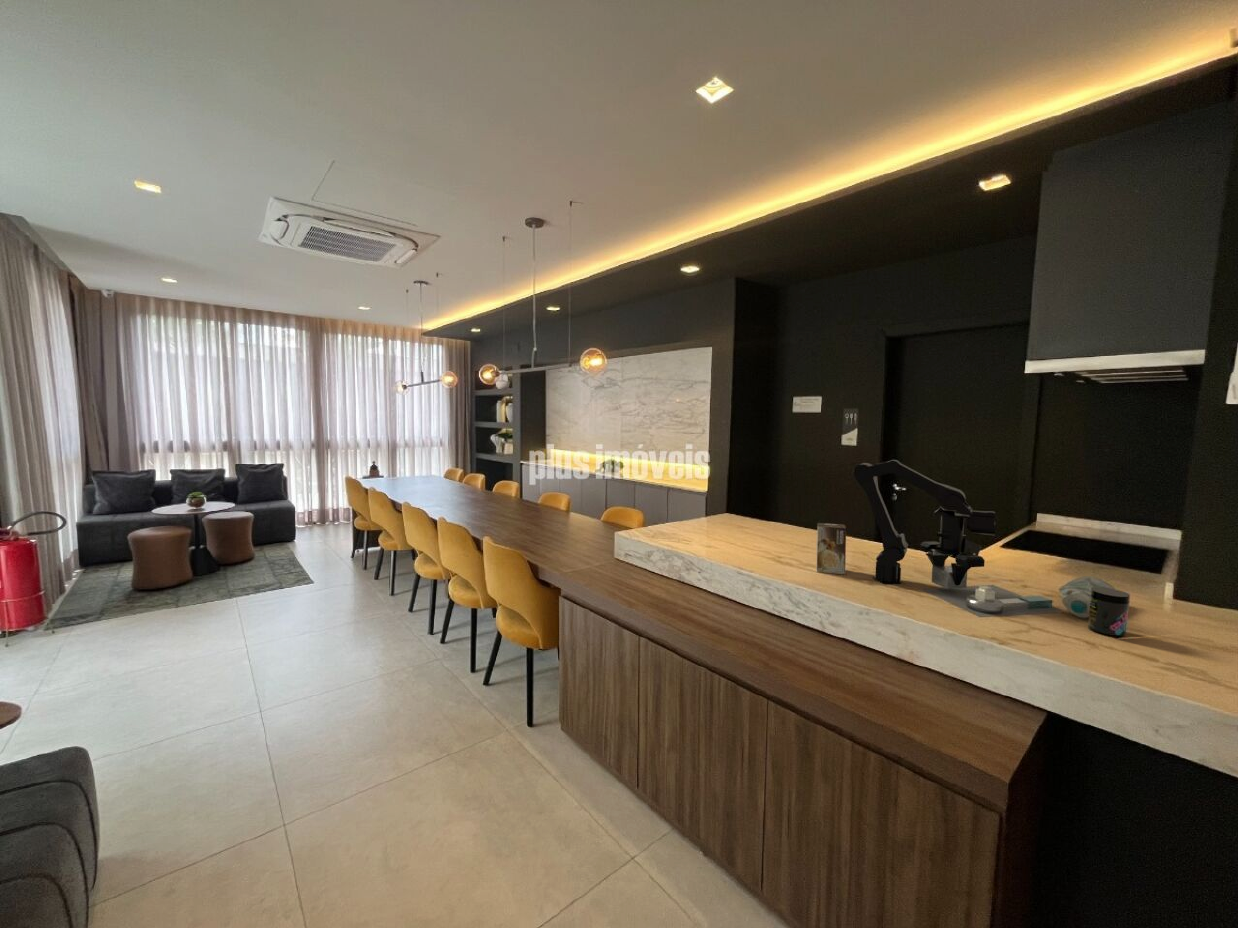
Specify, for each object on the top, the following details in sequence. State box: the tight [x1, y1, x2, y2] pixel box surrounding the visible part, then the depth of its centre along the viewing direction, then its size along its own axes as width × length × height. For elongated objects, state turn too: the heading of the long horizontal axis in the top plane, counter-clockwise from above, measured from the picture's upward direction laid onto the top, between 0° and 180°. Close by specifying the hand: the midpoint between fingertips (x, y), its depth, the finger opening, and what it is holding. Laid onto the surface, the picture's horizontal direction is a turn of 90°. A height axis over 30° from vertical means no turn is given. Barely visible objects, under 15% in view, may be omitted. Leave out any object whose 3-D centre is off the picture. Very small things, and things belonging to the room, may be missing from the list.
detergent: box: [1058, 576, 1116, 619], centre depth 134 cm, size 13×7×25 cm
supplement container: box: [1087, 587, 1131, 639], centre depth 119 cm, size 7×7×10 cm
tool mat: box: [919, 584, 1064, 618], centre depth 141 cm, size 25×22×1 cm
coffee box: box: [816, 522, 847, 575], centre depth 169 cm, size 9×6×16 cm
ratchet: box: [966, 585, 1054, 614], centre depth 135 cm, size 23×8×6 cm, turn 97°
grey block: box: [931, 564, 968, 589], centre depth 148 cm, size 6×6×5 cm
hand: (948, 581), depth 148 cm, fingers closed on grey block, 6 cm apart
